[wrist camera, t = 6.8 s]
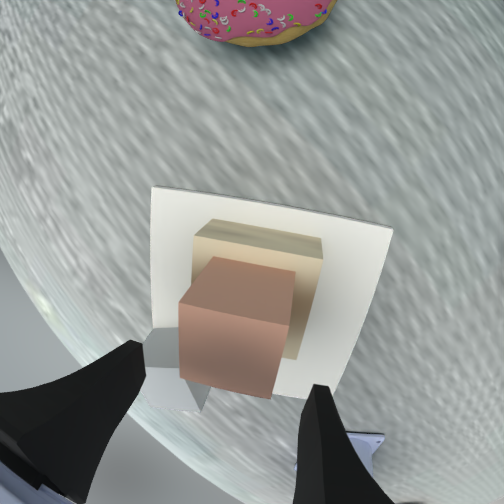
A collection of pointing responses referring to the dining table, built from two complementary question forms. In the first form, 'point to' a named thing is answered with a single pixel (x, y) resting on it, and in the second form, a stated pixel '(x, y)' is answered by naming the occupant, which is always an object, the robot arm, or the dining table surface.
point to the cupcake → (254, 19)
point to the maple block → (266, 263)
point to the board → (328, 288)
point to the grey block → (169, 375)
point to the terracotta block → (235, 326)
